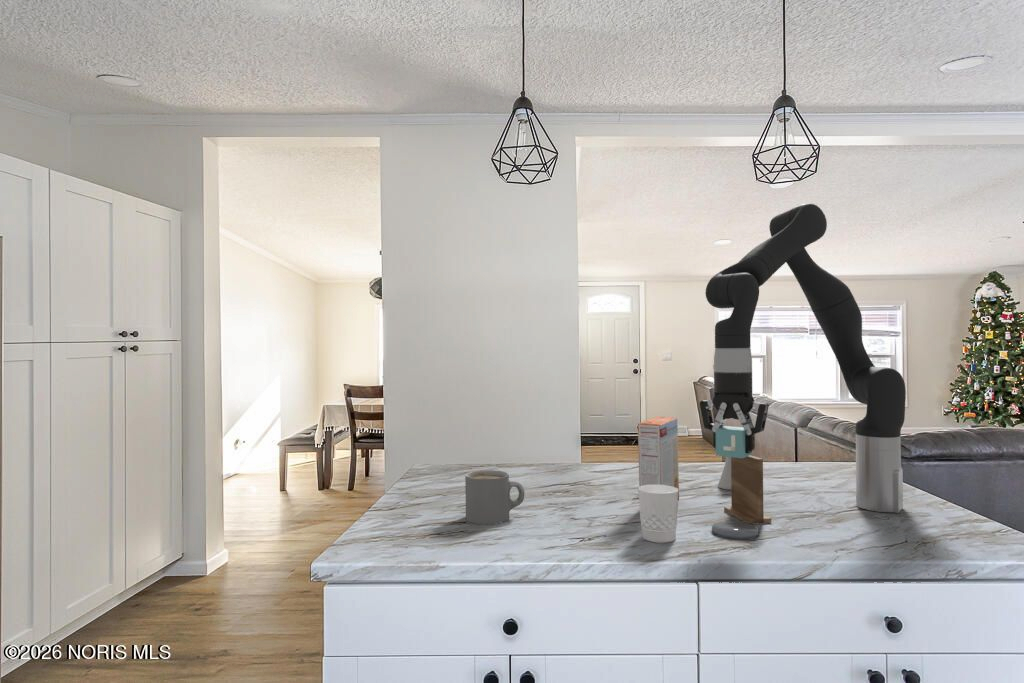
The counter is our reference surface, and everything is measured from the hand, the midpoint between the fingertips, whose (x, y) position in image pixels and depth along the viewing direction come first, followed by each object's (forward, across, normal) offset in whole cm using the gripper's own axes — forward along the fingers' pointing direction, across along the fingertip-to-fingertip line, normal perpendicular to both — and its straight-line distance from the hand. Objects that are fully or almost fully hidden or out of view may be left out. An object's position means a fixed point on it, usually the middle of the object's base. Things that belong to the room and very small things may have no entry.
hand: (733, 451), depth 132 cm
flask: (+17, +15, -39) cm, 46 cm away
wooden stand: (+17, +2, -13) cm, 22 cm away
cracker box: (+17, +22, -10) cm, 30 cm away
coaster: (+17, 0, 0) cm, 17 cm away
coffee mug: (+17, +47, +22) cm, 54 cm away
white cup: (+17, +11, +13) cm, 24 cm away
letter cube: (+1, 0, 0) cm, 1 cm away
